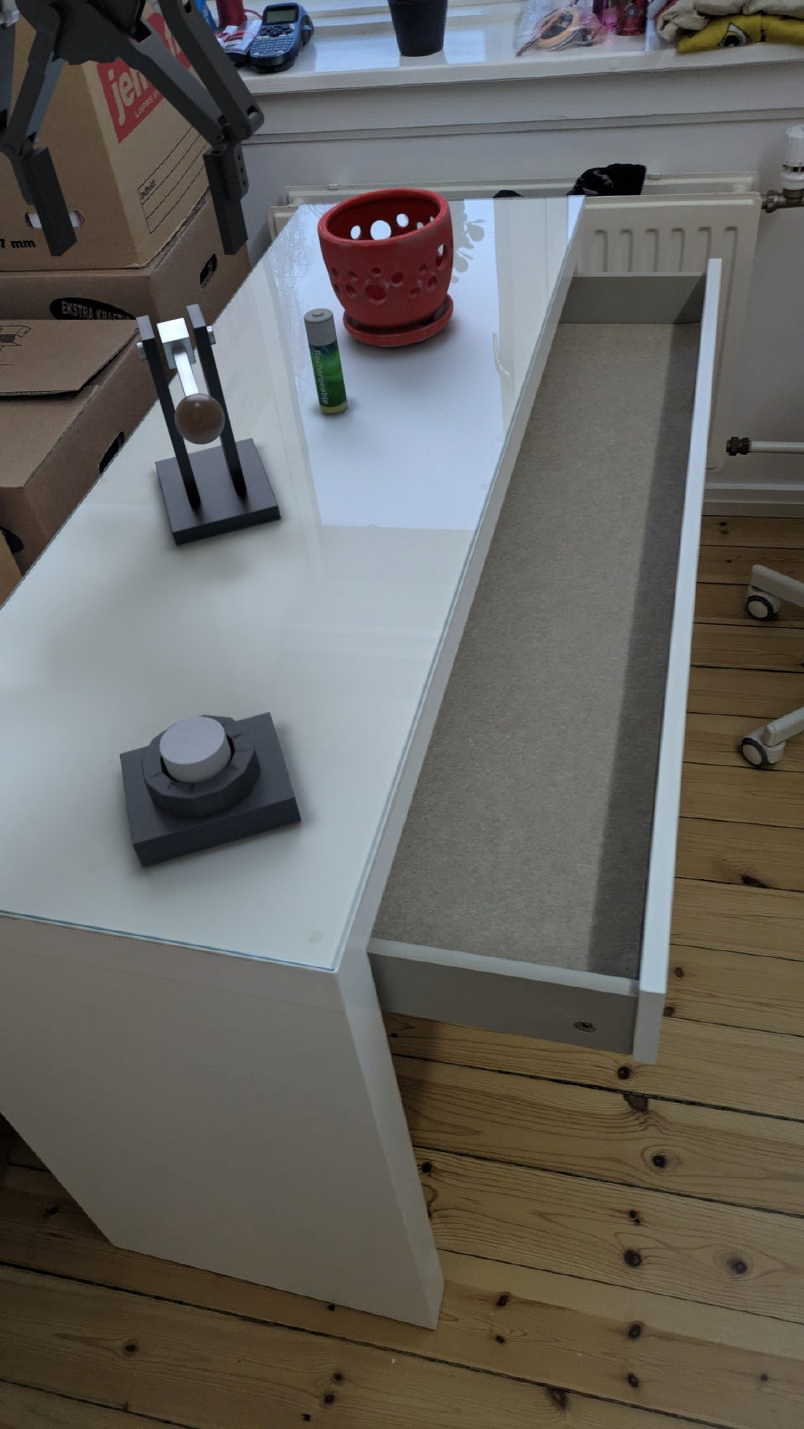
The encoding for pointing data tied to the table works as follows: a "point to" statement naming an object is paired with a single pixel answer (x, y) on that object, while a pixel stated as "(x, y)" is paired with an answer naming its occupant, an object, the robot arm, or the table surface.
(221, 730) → the flush button
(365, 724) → the table surface
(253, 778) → the button housing
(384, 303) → the flower pot
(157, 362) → the lever bracket
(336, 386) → the battery
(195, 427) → the flush lever
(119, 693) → the table surface
